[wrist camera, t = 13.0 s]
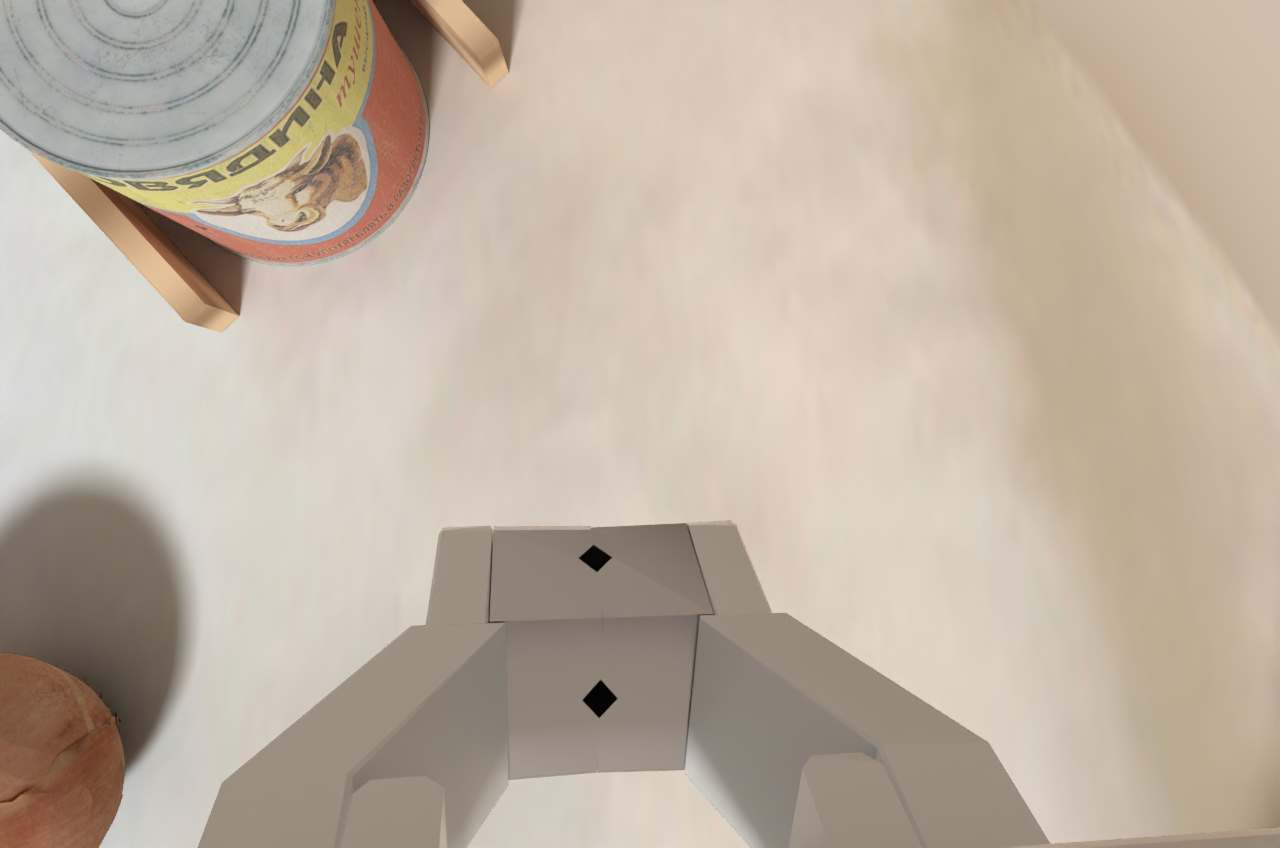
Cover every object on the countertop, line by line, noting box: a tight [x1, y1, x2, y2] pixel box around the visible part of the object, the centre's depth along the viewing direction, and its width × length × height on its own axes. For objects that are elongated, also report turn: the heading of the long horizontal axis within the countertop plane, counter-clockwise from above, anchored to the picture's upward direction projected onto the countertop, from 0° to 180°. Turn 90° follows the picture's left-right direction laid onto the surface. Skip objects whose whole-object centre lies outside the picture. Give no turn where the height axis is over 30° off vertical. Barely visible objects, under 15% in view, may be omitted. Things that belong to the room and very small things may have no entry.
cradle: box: [29, 0, 509, 332], centre depth 35 cm, size 11×16×5 cm
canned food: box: [0, 0, 429, 266], centre depth 32 cm, size 11×11×12 cm
